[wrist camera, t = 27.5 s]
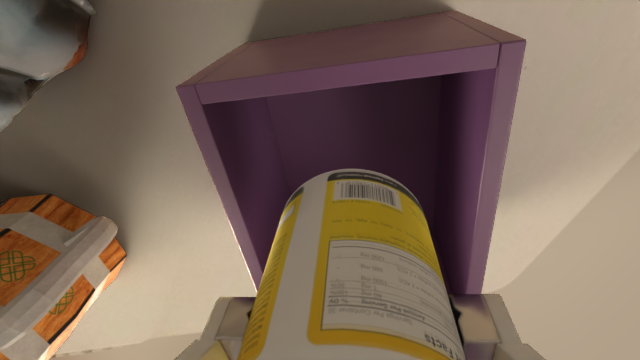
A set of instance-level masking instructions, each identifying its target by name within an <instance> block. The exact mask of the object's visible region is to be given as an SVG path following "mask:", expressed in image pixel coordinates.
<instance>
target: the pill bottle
mask: <svg viewBox="0 0 640 360" xmlns="http://www.w3.org/2000/svg"><path fill="white" fill-rule="evenodd" d="M237 360H466V358H465V355H464V351H463V347H462V344H461V340H460V337H459V333H458V330H457V326H456V323H455V319H454V316H453V312H452V309H451V305H450V302H449V298H448V295H447V291H446V288H445V284H444V281H443V277H442V273H441V270H440V266H439V263H438V259H437V256H436V252H435V249H434V246H433V242H432V239H431V235H430V231H429V228H428V224H427V221H426V218H425V215H424V212H423V210H422V207H421V206H420V204H419V202H418V201H417V199H416V198H415V196H414V195H413V194H412V193H411V192H410V191H409V190H408V189H407V188H406V187H405V186H404V185H402V184H401V183H399V182H398V181H396V180H394V179H393V178H391V177H389V176H386V175H384V174H381V173H378V172H374V171H370V170H364V169H339V170H334V171H329V172H326V173H323V174H320V175H318V176H316V177H313V178H312V179H310V180H308V181H307V182H305V183H304V184H303V185H301V186H300V187H299V188H298V189H297V190H296V191H295V192H294V193H293V194H292V196H291V197H290V198H289V200H288V202H287V204H286V206H285V208H284V210H283V213H282V216H281V218H280V222H279V225H278V228H277V232H276V235H275V238H274V241H273V244H272V248H271V251H270V254H269V257H268V260H267V263H266V267H265V270H264V273H263V276H262V280H261V283H260V286H259V290H258V293H257V296H256V299H255V303H254V306H253V309H252V313H251V316H250V319H249V322H248V326H247V329H246V332H245V336H244V339H243V342H242V345H241V349H240V352H239V355H238V358H237Z"/></svg>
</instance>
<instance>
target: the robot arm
mask: <svg viewBox="0 0 640 360" xmlns="http://www.w3.org/2000/svg"><path fill="white" fill-rule="evenodd" d="M448 298H449V302H450V305H451V309H452V312H453V316H454V319H455V323H456V326H457V330H458V333H459V337H460V340H461V344H462V347H463V351H464V355H465V358H466V360H546V359H545V358H543V357H542V356H541V355H540V354H539V353H538V352H536V351H535V350H534V349H533V348H532V347H531V346H529V345H528V344H522V342H521V340H520V337H519V335H518V333H517V331H516V328H515V326H514V324H513V322H512V319H511V317H510V315H509V313H508V310H507V308H506V306H505V304H504V301H503V299H502V297H501V296H500V295H499V294H450V295H449V296H448ZM255 299H256V297H220V298H219V299H218V300H217V301H216V303H215V305H214V308H213V310H212V312H211V314H210V317H209V319H208V321H207V324H206V326H205V328H204V331H203V333H202V335H201V338H200V340H195V341H194V342H193V343H192V344H191V345H189V346H188V347H187V348H186V349H185V350H184V351H183V352H182V353H181V354H180V355H179V356H178V357H176V358H175V359H174V360H237V358H238V355H239V352H240V349H241V345H242V342H243V339H244V336H245V332H246V329H247V326H248V322H249V319H250V316H251V313H252V309H253V306H254V303H255Z"/></svg>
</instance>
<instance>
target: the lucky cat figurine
mask: <svg viewBox="0 0 640 360" xmlns="http://www.w3.org/2000/svg"><path fill="white" fill-rule="evenodd" d="M95 13H96V12H95V11H94V9H93V8H92V6H91V5H90V3H89V2H88V0H0V132H1V131H2V130H3V129H4V128H5V127H6V126H8V125H9V124H10V123H11V121H12V117H13V116H14V115H16V114H18V113H19V112H20V111H22V109H23V108H24V106H25V105H26V104H27V103H28V102H29V100H30V99H31V98H32V97H33V95H34V94H35V93H36V92H37V91H38V90H39V89H40V88H41V87H42V86H44V85H45V84H46V83H47V82H48V81H49V80H50V79H52V78H53V77H55V76H56V75H58V74H59V73H61V72H63V71H65V70H67V69H70V68H71V67H73V66H74V65H76V64H78V63H79V62H80V61H81V60H82V58H83V57H84V55H85V53H86V49H87V44H88V28H89V21H90V14H95Z"/></svg>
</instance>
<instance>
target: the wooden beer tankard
mask: <svg viewBox="0 0 640 360" xmlns="http://www.w3.org/2000/svg"><path fill="white" fill-rule="evenodd" d="M117 229H118V228H117V226H116V225H115V224H114V222H113V221H112V220H110V219H108V218H106V217H104V216H102V217H96V216H94V215H92V214H90V213H88V212H86V211H84V210H82V209H80V208H78V207H76V206H74V205H72V204H70V203H68V202H66V201H64V200H62V199H60V198H58V197H56V196H54V195H52V194H46V195H36V196H27V197H17V198H9V199H7V200H6V201H5V202H4V203H3V204H2V205H0V360H49V358H50V357H51V356H52V355H53V354H54V353H55V352H56V351H57V350H58V349H59V348H60V347H61V345H62V344H63V343H64V342H65V341H66V340H67V339H68V338H69V336H70V335H71V333H72V332H73V330H74V329H75V327H76V326H77V324H78V323H79V321H80V320H81V318H82V317H83V315H84V314H85V312H86V311H87V310H88V308H89V307H90V306H91V305H92V303H93V302H94V301H95V300H96V298H97V297H98V296H99V295H100V294H101V293H102V292H103V291H104V290H105V289H106V288H107V287H108V286H109V285H110V284H111V283H112V282H113V281H114V280H115V279H116V277H117V275H118V273H119V271H120V269H121V267H122V265H123V263H124V261H125V259H126V257H127V254H126V253H125V252H124V250H123V249H122V247H121V246H120V244H119V243H118V241H117V240H116V239H115V235H116V234H117Z"/></svg>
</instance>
